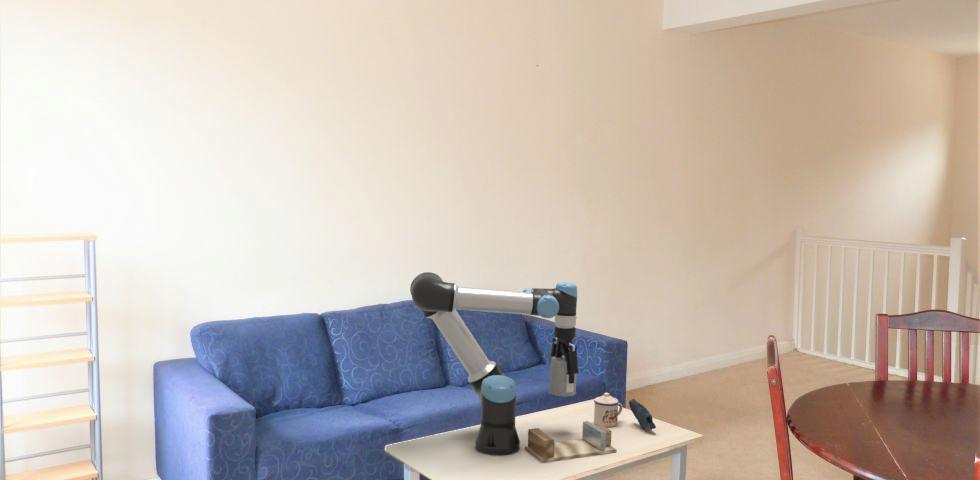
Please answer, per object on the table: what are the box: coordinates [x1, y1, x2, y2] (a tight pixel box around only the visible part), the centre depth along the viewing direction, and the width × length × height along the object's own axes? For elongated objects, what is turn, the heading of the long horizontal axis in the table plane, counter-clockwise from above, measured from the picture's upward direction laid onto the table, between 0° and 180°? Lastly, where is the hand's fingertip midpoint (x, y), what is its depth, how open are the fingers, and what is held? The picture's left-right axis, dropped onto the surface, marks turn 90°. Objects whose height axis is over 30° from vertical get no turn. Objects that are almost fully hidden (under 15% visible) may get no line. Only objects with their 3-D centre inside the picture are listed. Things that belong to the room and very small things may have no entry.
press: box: [524, 427, 617, 463], centre depth 260 cm, size 28×13×7 cm, turn 113°
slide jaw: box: [581, 420, 612, 450], centre depth 265 cm, size 6×12×6 cm, turn 23°
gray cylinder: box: [548, 355, 578, 397], centre depth 277 cm, size 10×10×12 cm
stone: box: [628, 398, 657, 431], centre depth 285 cm, size 14×6×10 cm, turn 39°
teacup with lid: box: [593, 392, 623, 428], centre depth 290 cm, size 12×9×12 cm
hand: (562, 388), depth 277 cm, fingers closed on gray cylinder, 9 cm apart
